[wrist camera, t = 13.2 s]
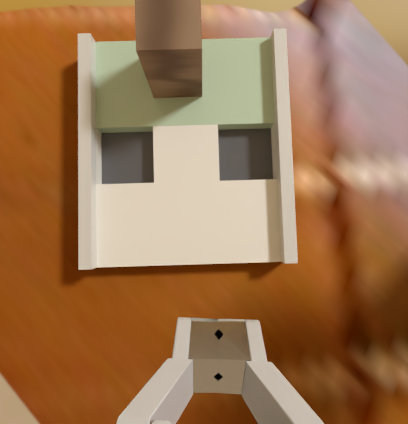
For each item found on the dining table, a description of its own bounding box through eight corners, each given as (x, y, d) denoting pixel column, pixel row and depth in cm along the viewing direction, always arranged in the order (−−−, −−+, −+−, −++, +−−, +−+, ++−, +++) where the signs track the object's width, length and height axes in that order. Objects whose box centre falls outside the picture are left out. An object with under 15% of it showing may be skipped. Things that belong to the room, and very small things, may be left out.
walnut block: (200, 50, 34) (199, -15, 25) (202, 96, 34) (202, 48, 25) (152, 51, 34) (134, -13, 25) (153, 98, 34) (135, 50, 25)
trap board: (278, 47, 36) (286, 28, 33) (288, 259, 34) (297, 263, 31) (90, 52, 36) (77, 33, 32) (91, 265, 34) (78, 269, 31)
